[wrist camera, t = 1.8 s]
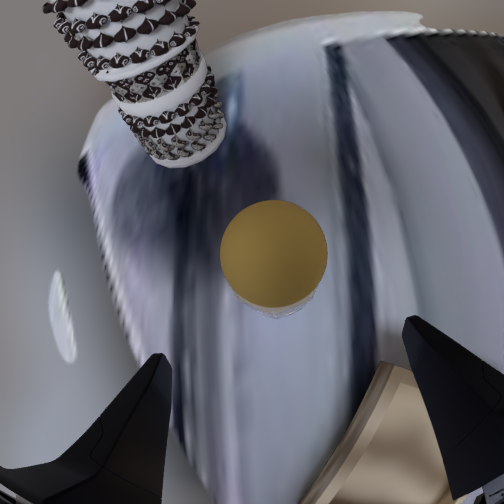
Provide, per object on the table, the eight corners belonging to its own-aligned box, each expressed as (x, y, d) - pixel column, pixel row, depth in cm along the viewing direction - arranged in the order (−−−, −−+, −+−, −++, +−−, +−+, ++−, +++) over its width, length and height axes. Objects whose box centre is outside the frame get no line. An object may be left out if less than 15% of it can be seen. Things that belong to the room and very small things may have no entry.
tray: (423, 524, 13) (433, 537, 11) (294, 508, 16) (295, 527, 14) (496, 399, 16) (515, 403, 14) (380, 360, 19) (394, 364, 16)
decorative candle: (248, 140, 26) (186, -135, 1) (160, 189, 25) (-12, -45, 1) (208, 90, 28) (144, -110, 4) (134, 130, 28) (19, -49, 4)
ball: (298, 325, 15) (307, 324, 10) (215, 288, 16) (187, 269, 11) (332, 242, 16) (352, 206, 11) (252, 210, 17) (241, 165, 12)
